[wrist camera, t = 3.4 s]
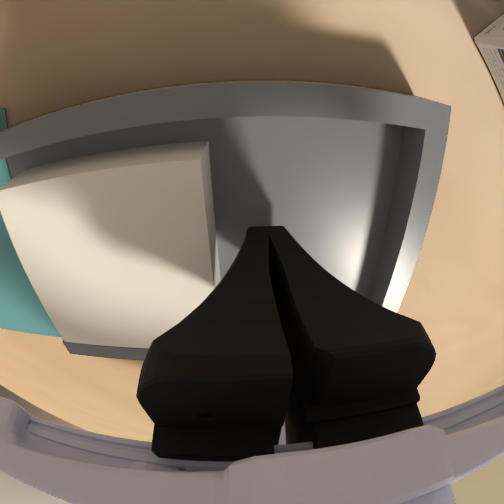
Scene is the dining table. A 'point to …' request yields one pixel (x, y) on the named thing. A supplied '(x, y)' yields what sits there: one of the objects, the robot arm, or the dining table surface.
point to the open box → (278, 167)
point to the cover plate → (117, 240)
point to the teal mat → (17, 279)
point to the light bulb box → (493, 50)
